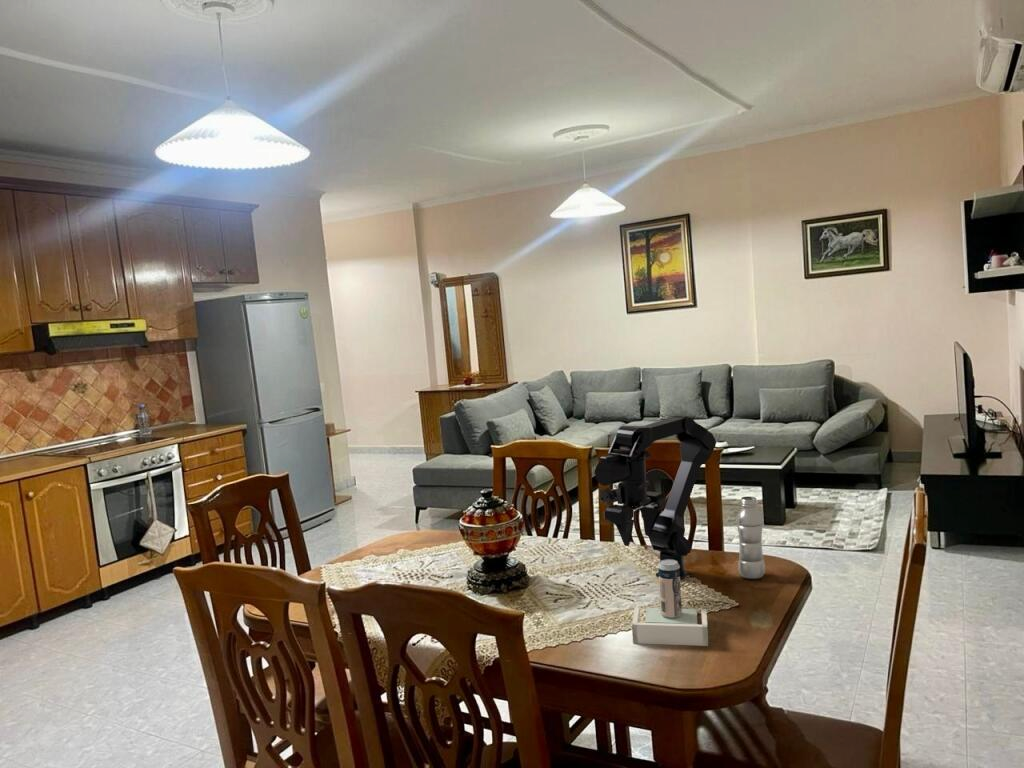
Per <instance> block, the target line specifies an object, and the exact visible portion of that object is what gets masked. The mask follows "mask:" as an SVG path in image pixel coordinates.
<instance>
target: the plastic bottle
mask: <svg viewBox="0 0 1024 768" xmlns="http://www.w3.org/2000/svg"><path fill="white" fill-rule="evenodd" d="M740 500H741V501H740V506H741V508H740V510H739V511H738V512H737V515H736V518H735V519H736V526H737V532H738V533H737V534H738V538H739V556H738V562H737V568H738V569H737V570H738V573H739V574H740V576H741V577H743V578H745V579H750V580H757V579H760V578H763V576H764V575H765V572H766V564H765V560H764V554H763V547H762V541H763V540H762V539H763V538H762V537H763V535H762V534H763V526H764V519H763V516H762V513H761V512H760V511H759V509H758V508H757V506H758V503H757V497H755V496H749V495H748V496H742V497H741V498H740Z"/></svg>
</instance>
